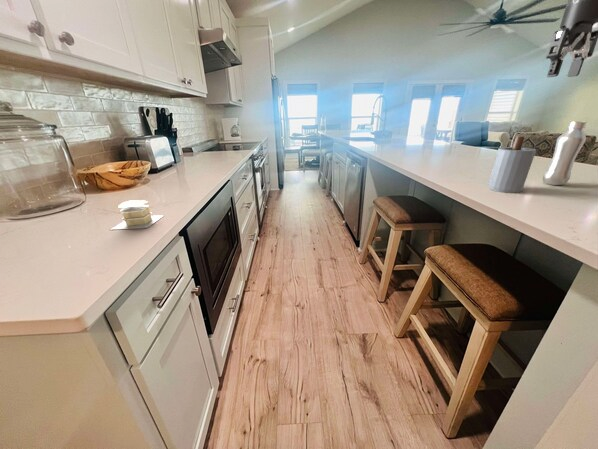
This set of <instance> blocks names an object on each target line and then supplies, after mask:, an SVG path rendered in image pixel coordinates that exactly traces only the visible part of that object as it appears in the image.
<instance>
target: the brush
mask: <svg viewBox="0 0 598 449" xmlns="http://www.w3.org/2000/svg"><path fill="white" fill-rule="evenodd" d="M525 139H526V136H525V135H516V136H515V138H514V141H513V144H512V147H513V148H512V150H521V148H523V145H524V142H525Z"/></svg>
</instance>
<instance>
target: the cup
mask: <svg viewBox="0 0 598 449" xmlns="http://www.w3.org/2000/svg"><path fill="white" fill-rule="evenodd" d="M512 148H513V146H507V147H506V146H503V147H499V148H498V149H497V152H496V156H495V158H494V162H493V166H492V170H491V173H490V176H489V180H488V183H487V189H489V190H490V191H494V192H498V193H504V194H505V193H507V194H517V193H522V192H523V189H524V186H525V183H526V181H527V178H528V175H529V172H530V169H531V166H532V163H533V161H534V158H535V155H536V152H537V149H536V148H531V147H522V148H521V150H512Z"/></svg>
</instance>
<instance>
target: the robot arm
mask: <svg viewBox="0 0 598 449" xmlns="http://www.w3.org/2000/svg"><path fill="white" fill-rule="evenodd" d="M595 24H598V0H567V2H566V6H565V8H564V11H563V16H562V19H561V22H560V26H559V30H556V31H554V33H553V35H552V38H551V41H550V45H549V46H548V50H547V53H546V56H545V57H546V60H547V59H549V62H550V65H549V67H548V71H547V74H546V77H547V78H555V77H558V76H559V74H560V71H561V69H562V65H563V62H564V58H565V57H566V56H567V55H568V53H569V54H570V56H572V61H571V63H570V67H569V69H568V72H567V75H566V76H567V77H568V78H572V77H578V76H579V75H580V73H581V70H582V68H583V65H584V61H585V60H587V58H590V57H592V56H593V54H594V52H595V48H596V45H597V42H598V29H597V30H593V27H594V25H595Z"/></svg>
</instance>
